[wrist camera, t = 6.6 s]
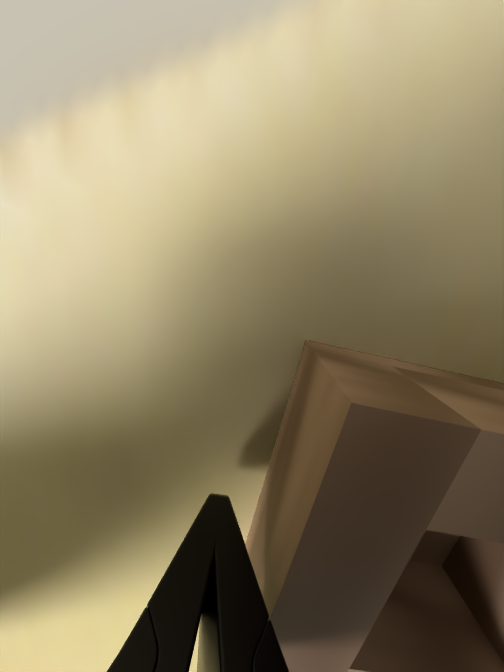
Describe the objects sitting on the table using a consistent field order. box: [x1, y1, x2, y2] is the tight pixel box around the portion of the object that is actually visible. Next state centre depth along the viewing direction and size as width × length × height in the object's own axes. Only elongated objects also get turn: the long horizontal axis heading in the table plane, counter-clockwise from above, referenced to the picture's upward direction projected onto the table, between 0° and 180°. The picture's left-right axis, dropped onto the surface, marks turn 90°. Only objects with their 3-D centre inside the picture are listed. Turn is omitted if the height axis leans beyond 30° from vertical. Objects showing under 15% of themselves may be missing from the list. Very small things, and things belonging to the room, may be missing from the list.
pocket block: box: [245, 340, 504, 672], centre depth 8 cm, size 10×10×4 cm
